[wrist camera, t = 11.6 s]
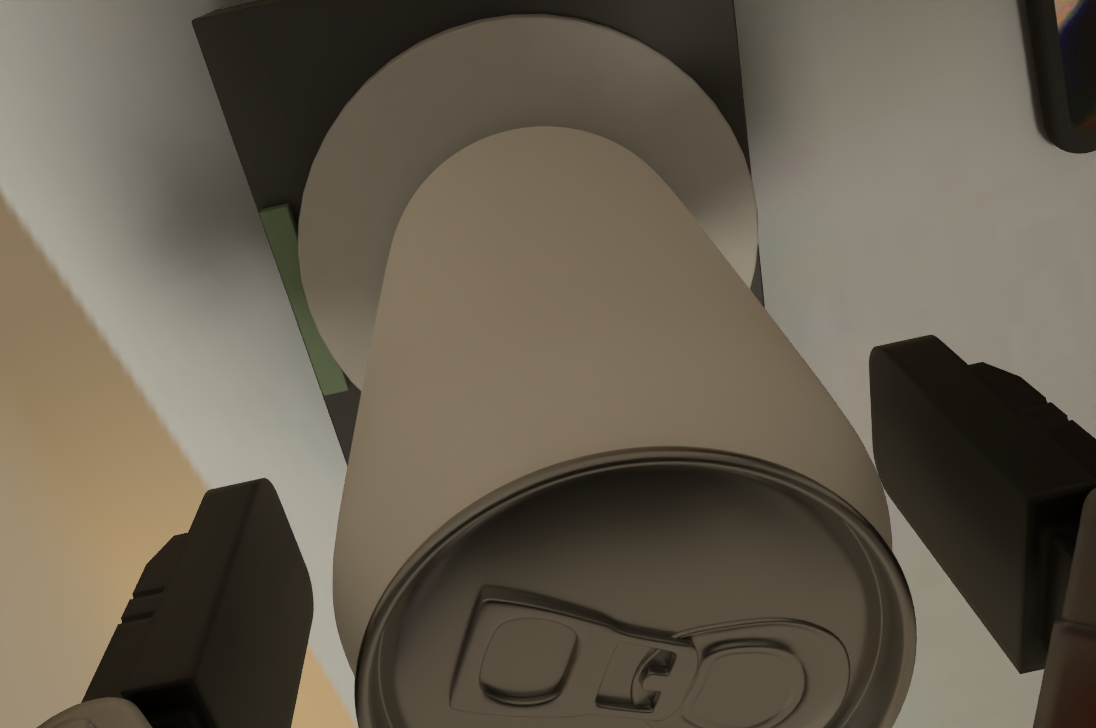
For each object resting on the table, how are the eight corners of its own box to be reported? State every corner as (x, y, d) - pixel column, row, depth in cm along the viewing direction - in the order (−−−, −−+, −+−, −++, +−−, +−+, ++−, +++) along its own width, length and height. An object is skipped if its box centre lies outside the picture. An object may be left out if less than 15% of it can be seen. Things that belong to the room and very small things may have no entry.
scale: (213, 10, 20) (181, 23, 17) (699, -98, 19) (732, -99, 17) (373, 479, 25) (364, 538, 23) (754, 395, 25) (786, 446, 22)
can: (637, 430, 22) (813, 931, 11) (362, 374, 21) (261, 879, 10) (732, 164, 19) (1081, 483, 9) (424, 82, 18) (379, 337, 7)
